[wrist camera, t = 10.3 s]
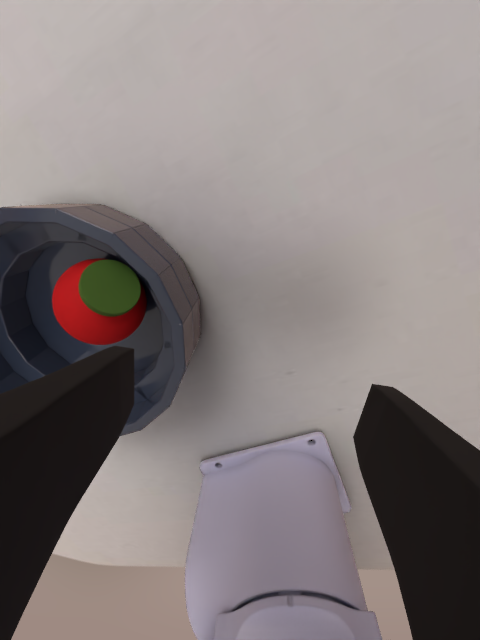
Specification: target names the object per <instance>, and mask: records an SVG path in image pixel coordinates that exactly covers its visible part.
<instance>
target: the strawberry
mask: <svg viewBox="0 0 480 640" xmlns="http://www.w3.org/2000/svg"><path fill="white" fill-rule="evenodd" d="M52 305H53V311H54V315H55V317H56V319H57V321H58V322H59V324H60V325H61V327H62V328H63V329H64V330H65V331H66V332H67V333H68V334H69V335H71V336H72V337H74V338H76V339H77V340H79V341H82V342H85V343H89V344H94V345H107V344H113V343H116V342H119V341H121V340H123V339H125V338H127V337H128V336H130V335H131V334H132V333H133V332H134V331H135V330H136V329H137V328H138V327H139V326H140V324H141V322H142V321H143V318H144V316H145V312H146V306H147V299H146V293H145V290H144V287H143V285H142V283H141V281H140V280H139V278H138V277H137V275H136V274H135V273H134V271H133V270H132V269H131V268H129V267H128V266H127V265H125V264H123V263H121V262H119V261H115V260H108V259H89V260H85V261H82V262H79V263H77V264H74V265H73V266H71V267H70V268H68V269H67V270H66V271H65V272H64V273H63V274H62V275H61V276H60V278H59V279H58V281H57V283H56V285H55V287H54V290H53V295H52Z"/></svg>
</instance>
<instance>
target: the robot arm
mask: <svg viewBox="0 0 480 640" xmlns="http://www.w3.org/2000/svg"><path fill="white" fill-rule="evenodd" d="M133 406H134V348H127V347H120V346H112V347H109V348H107V349H104V350H102V351H99V352H97V353H95V354H93V355H90V356H88V357H86V358H84V359H82V360H79V361H77V362H75V363H73V364H71V365H68V366H66V367H64V368H62V369H59V370H57V371H55V372H53V373H50V374H48V375H46V376H43V377H41V378H38V379H36V380H33V381H31V382H29V383H26V384H24V385H21V386H19V387H16V388H14V389H12V390H9V391H6V392H4V393H1V394H0V640H11V638H12V636H13V634H14V631H15V629H16V627H17V625H18V623H19V620H20V618H21V616H22V614H23V612H24V610H25V608H26V606H27V604H28V602H29V599H30V597H31V595H32V593H33V591H34V589H35V587H36V585H37V583H38V580H39V578H40V576H41V574H42V572H43V570H44V568H45V566H46V564H47V562H48V560H49V558H50V556H51V554H52V552H53V550H54V548H55V546H56V544H57V542H58V540H59V538H60V536H61V534H62V532H63V530H64V528H65V526H66V524H67V522H68V520H69V519H70V517H71V515H72V513H73V512H74V510H75V508H76V506H77V505H78V503H79V501H80V500H81V498H82V496H83V495H84V493H85V492H86V490H87V488H88V487H89V485H90V483H91V482H92V480H93V479H94V477H95V475H96V474H97V472H98V471H99V469H100V467H101V466H102V464H103V462H104V461H105V459H106V458H107V456H108V454H109V453H110V451H111V449H112V448H113V446H114V445H115V443H116V441H117V440H118V438H119V436H120V434H121V433H122V431H123V428H124V426H125V424H126V422H127V420H128V418H129V415H130V413H131V411H132V408H133ZM353 438H354V443H355V448H356V453H357V458H358V462H359V467H360V470H361V473H362V476H363V479H364V482H365V485H366V488H367V491H368V494H369V497H370V500H371V502H372V505H373V508H374V511H375V513H376V516H377V519H378V522H379V525H380V527H381V530H382V533H383V536H384V539H385V541H386V544H387V547H388V550H389V553H390V556H391V559H392V562H393V565H394V568H395V572H396V575H397V579H398V582H399V586H400V590H401V594H402V598H403V602H404V605H405V609H406V613H407V617H408V621H409V625H410V629H411V634H412V637H413V640H480V450H478V449H477V448H476V447H474V446H473V445H471V444H470V443H469V442H467V441H466V440H465V439H463V438H462V437H461V436H459V435H458V434H456V433H455V432H454V431H452V430H451V429H450V428H448V427H447V426H446V425H444V424H443V423H442V422H440V421H439V420H438V419H436V418H435V417H434V416H433V415H431V414H430V413H429V412H427V411H426V410H425V409H423V408H422V407H421V406H419V405H418V404H417V403H415V402H414V401H413V400H411V399H410V398H408V397H407V396H406V395H404V394H403V393H401V392H400V391H398V390H397V389H395V388H393V387H388V386H382V385H375V384H372V386H371V389H370V391H369V394H368V397H367V400H366V403H365V406H364V408H363V411H362V414H361V417H360V420H359V422H358V425H357V428H356V431H355V434H354V436H353ZM309 440H313V441H309ZM218 463H220V464H218ZM199 468H200V470H201V472H202V474H203V475H204V476H203V480H202V485H201V490H200V494H199V499H198V504H197V509H196V514H195V518H194V523H193V528H192V533H191V537H190V542H189V547H188V552H187V558H186V568H185V597H186V607H187V612H188V616H189V620H190V624H191V627H192V629H193V632H194V634H195V636H196V638H197V639H198V640H382V637H381V634H380V630H379V626H378V622H377V619H376V615H375V613H374V612H373V611H368V610H367V607H366V602H365V598H364V594H363V590H362V586H361V582H360V578H359V574H358V570H357V566H356V562H355V559H354V555H353V551H352V547H351V543H350V539H349V535H348V531H347V527H346V523H345V519H344V515H343V513H348V512H350V511H351V509H352V507H351V504H350V501H349V498H348V495H347V493H346V490H345V488H344V485H343V482H342V480H341V477H340V474H339V472H338V469H337V466H336V464H335V461H334V458H333V456H332V453H331V450H330V448H329V445H328V442H327V440H326V437H325V435H324V433H322V432H313V433H309V434H305V435H301V436H297V437H293V438H289V439H285V440H281V441H277V442H273V443H269V444H265V445H261V446H257V447H253V448H249V449H245V450H242V451H238V452H234V453H230V454H226V455H222V456H218V457H214V458H210V459H206V460H203V461H201V463H200V467H199Z"/></svg>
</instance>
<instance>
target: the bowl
mask: <svg viewBox="0 0 480 640" xmlns="http://www.w3.org/2000/svg"><path fill="white" fill-rule="evenodd" d="M89 259H108V260H115V261H119V262H121V263H123V264H125V265H127V266H128V267H129V268H131V269H132V270H133V271H134V273H135V274H136V275H137V277H138V278H139V280H140V281H141V283H142V285H143V287H144V290H145V293H146V299H147V306H146V312H145V316H144V318H143V321H142V322H141V324H140V326H139V327H138V328H137V329H136V330H135V331H134V332H133V333H132V334H131V335H130V336H128V337H127V338H125V339H123V340H121V341H119V342H116V343H113V344H107V345H94V344H89V343H85V342H82V341H79V340H77V339H76V338H74V337H72V336H71V335H69V334H68V333H67V332H66V331H65V330H64V329H63V328H62V327H61V325H60V324H59V322H58V321H57V319H56V317H55V315H54V311H53V305H52V295H53V290H54V287H55V285H56V283H57V281H58V279H59V278H60V276H61V275H62V274H63V273H64V272H65V271H66V270H67V269H68V268H70V267H71V266H73V265H74V264H77V263H79V262H82V261H85V260H89ZM200 335H201V327H200V303H199V295H198V293H197V291H196V289H195V287H194V285H193V282H192V280H191V278H190V276H189V274H188V272H187V270H186V267H185V265H184V263H183V261H182V259H181V258H180V256H179V255H178V254H177V253H176V252H175V251H174V250H173V249H172V248H171V247H170V246H169V245H168V244H167V243H166V242H165V241H164V240H163V239H162V238H161V237H160V236H159V235H158V234H157V233H156V232H155V231H154V230H152V229H151V228H150V227H149V226H148V225H147V224H146V223H144V222H141V221H139V220H137V219H135V218H132V217H130V216H128V215H126V214H123V213H121V212H119V211H116V210H114V209H112V208H110V207H107V206H105V205H101V204H46V205H28V206H12V207H1V208H0V394H1V393H4V392H6V391H9V390H12V389H14V388H16V387H19V386H21V385H24V384H26V383H29V382H31V381H33V380H36V379H38V378H41V377H43V376H46V375H48V374H50V373H53V372H55V371H57V370H59V369H62V368H64V367H66V366H68V365H71V364H73V363H75V362H77V361H79V360H82V359H84V358H86V357H88V356H90V355H93V354H95V353H97V352H99V351H102V350H104V349H107V348H109V347H112V346H120V347H127V348H134V406H133V408H132V411H131V413H130V415H129V418H128V420H127V422H126V424H125V426H124V428H123V431H122V433H121V434H120V436H122V435H126V434H129V433H133V432H136V431H140V430H142V429H143V428H145V427H146V426H147V425H148V424H149V423H151V422H152V421H153V420H154V419H155V418H156V417H158V416H159V415H160V414H161V413H162V412H164V411H165V410H166V409H167V408H168V407H170V405H171V404H172V402H173V399H174V397H175V395H176V392H177V390H178V388H179V385H180V383H181V381H182V378H183V376H184V374H185V371H186V369H187V367H188V364H189V362H190V359H191V357H192V355H193V352H194V350H195V348H196V345H197V343H198V340H199V338H200Z"/></svg>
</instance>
